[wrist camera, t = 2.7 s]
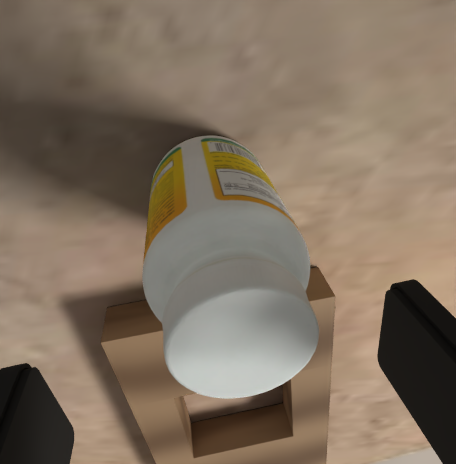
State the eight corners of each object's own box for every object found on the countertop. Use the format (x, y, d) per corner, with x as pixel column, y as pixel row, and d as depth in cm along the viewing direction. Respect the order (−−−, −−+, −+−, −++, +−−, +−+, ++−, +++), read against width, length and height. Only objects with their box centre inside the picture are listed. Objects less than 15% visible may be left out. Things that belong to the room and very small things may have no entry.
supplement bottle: (248, 116, 16) (339, 232, 8) (272, 218, 19) (357, 380, 10) (130, 154, 16) (95, 308, 8) (172, 249, 19) (180, 434, 11)
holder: (107, 307, 20) (100, 342, 18) (318, 267, 21) (335, 296, 19) (172, 466, 30) (173, 501, 28) (314, 435, 30) (325, 466, 28)
